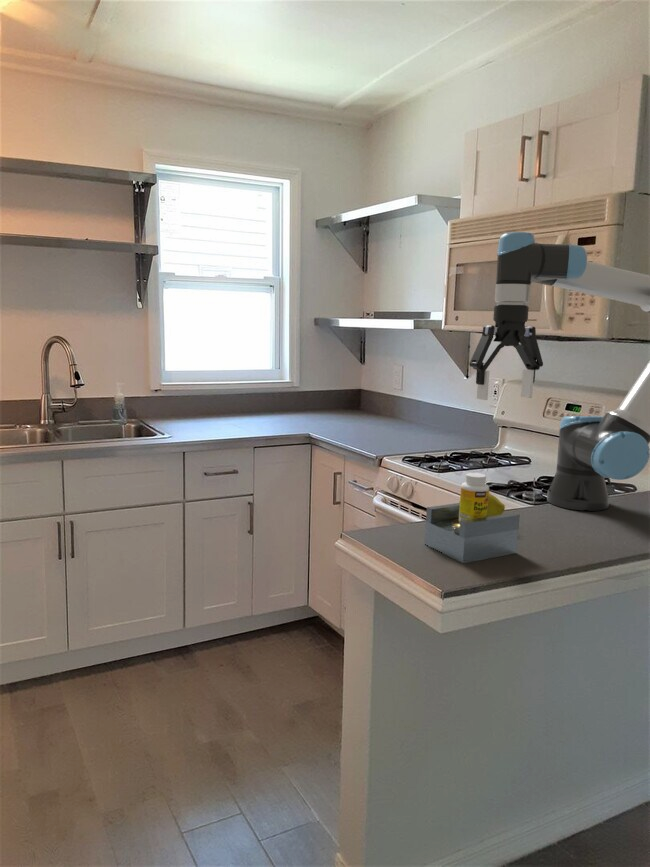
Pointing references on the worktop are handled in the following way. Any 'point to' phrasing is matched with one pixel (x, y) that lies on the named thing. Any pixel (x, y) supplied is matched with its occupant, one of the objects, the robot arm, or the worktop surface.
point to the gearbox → (470, 534)
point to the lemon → (494, 506)
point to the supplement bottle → (473, 497)
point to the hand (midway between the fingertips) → (504, 398)
